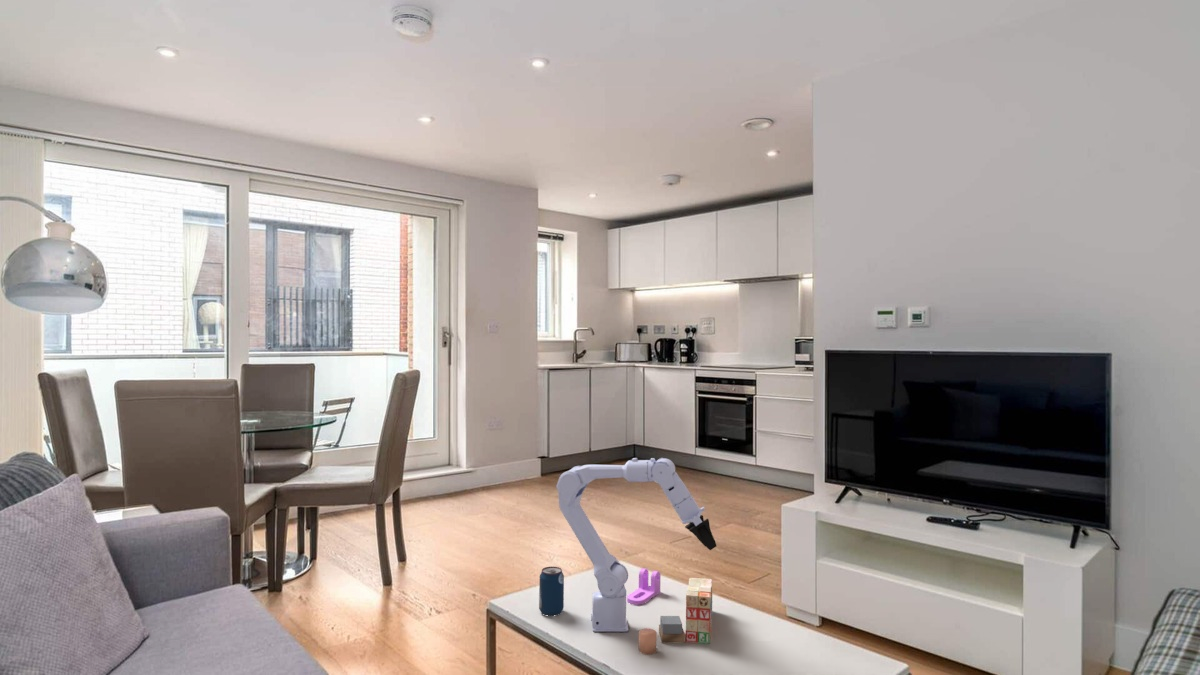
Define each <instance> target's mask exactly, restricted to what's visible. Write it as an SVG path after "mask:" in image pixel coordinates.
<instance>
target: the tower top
mask: <svg viewBox="0 0 1200 675" xmlns="http://www.w3.org/2000/svg"><path fill="white" fill-rule="evenodd" d="M659 618H660V621H659V623H660V624H659V625H660V626H661V630H662V633H663V634H682V628H683V623H682V619H681V617H680V615H660V617H659Z"/></svg>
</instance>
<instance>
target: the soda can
mask: <svg viewBox="0 0 1200 675" xmlns="http://www.w3.org/2000/svg"><path fill="white" fill-rule="evenodd" d="M538 586H539V593H538V594H539V595H538V597H539V598H538V608H539V609H538V610H539V612H540V614H542V615H543V614H544V615H543V616H545V615H548V616H547V617H555V616H554V615H557V616H559V615H560V613H561V614H562V613H563V610H564V607H565V603H564V600H565V596H564V595H565V593H564V591H565V575H564V573H563V570H562V568H561V567H559V566H546V567H544V568H543V567H542V569H541V572H540V574H539V585H538ZM558 614H559V615H558Z"/></svg>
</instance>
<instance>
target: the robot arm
mask: <svg viewBox="0 0 1200 675" xmlns="http://www.w3.org/2000/svg"><path fill="white" fill-rule="evenodd" d="M614 478H615V479H616V478H624V479H625V480H627V482H629V483H644V482H645V483H651V482H653V481H654V482H655V484H658V485H659V486H660V488H661V489H662V491H663V493H664V495H665V496H666V497H667V500H668V501H669V503H670V504H671V506H672V508H673V509H674V511H675V513H676V514H677V516H678V517H679V518H680V520H681V523H682V525H685V526H684V528H685V529H687V530H688V532H690V533H692V534H693V536H695V537H696V538H697V540H698V541H700V544H702V545H703V546H704V547H706V548H707V549H708V550H709V551H712V550H713V549H715V548H716V547H717V543H716V540H715V537H714V535H713V532H712V531H711V530H712V529H711V527H710V519H709V518H706V519H704V515H702V514H703V512H704V511H705V510H706V508H705V506H702V507H699V505H698V503H697V502H696V500H695V499H694V497H693V495H692V494H691V492H690V491H689V489H688V487H687V486H686V484H685V483H684V481H683V480H682V479H681V477H680V476H679V474H678V473H677V472H676V465H675V464H674V462H673V461H672V460H671V459H669V458H665V457H660V458H659V459H657V460H656V459H655V457H651V458H650V459H638V457H633V458H631V459H630V460H627V461H626V462H625V464H623V465H622V464H584V465H576V466H573V467H572V468H571V469H569V470H567V471H564V472H563V473H561V474H560V476H559V478H558V480H557V483H556V490H557V492H558V495H557V496H558V506H559V510H560V511H561V513H562V515H563V517H564V518H565V520H566V522H567V523H568V525H569V526H570V528H571V530H572V532H573V533H574V535H575V537H576V538H577V540H578V542H579V543H580V545H581V547H582V549H583V550H584V552H585V553H586V555H587V557H588V558H589V560H590V562H591V563H592V565H593V566H592V567H593V575H594V578H595V580H596V581H597V587H598V591H596V592H595V591H594V592H592V598H591V599H592V602H591V603H592V605H591V606H592V608H591V610H592V612H591V614H590V621H591V623H592V625H591V626H592V631H593V632H596V633H598V632H599V633H602V632H604V633H605V632H611V633H612V632H616V633H617V632H629V626H628V625H629V624H628V620H627V619H628V618H627V589H626V587H625V584H626V583H627V581H628V578H629V572H628V569H627V567H626V566H625V565H624V564H622V563H621V562H619V560H618V558H617V557H616V556H615V555H613V554H611V553H610V552H609V550H608V549H607V547H606V545H605V544H604V542H603V540H602V538H601V537H600V536H599V534H598V533H597V531H596V529H595V527H594V525H593V524H592V522H591V520H590V519H589V518H588V515H587V514H586V513H585V510H584V509H583V507H582V506H581V500H582V496H583V493H584V491H585V490H586V488H587V486H588V485H589V483H591V482H593V481H594V480H597V479H598V480H599V479H614Z"/></svg>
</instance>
